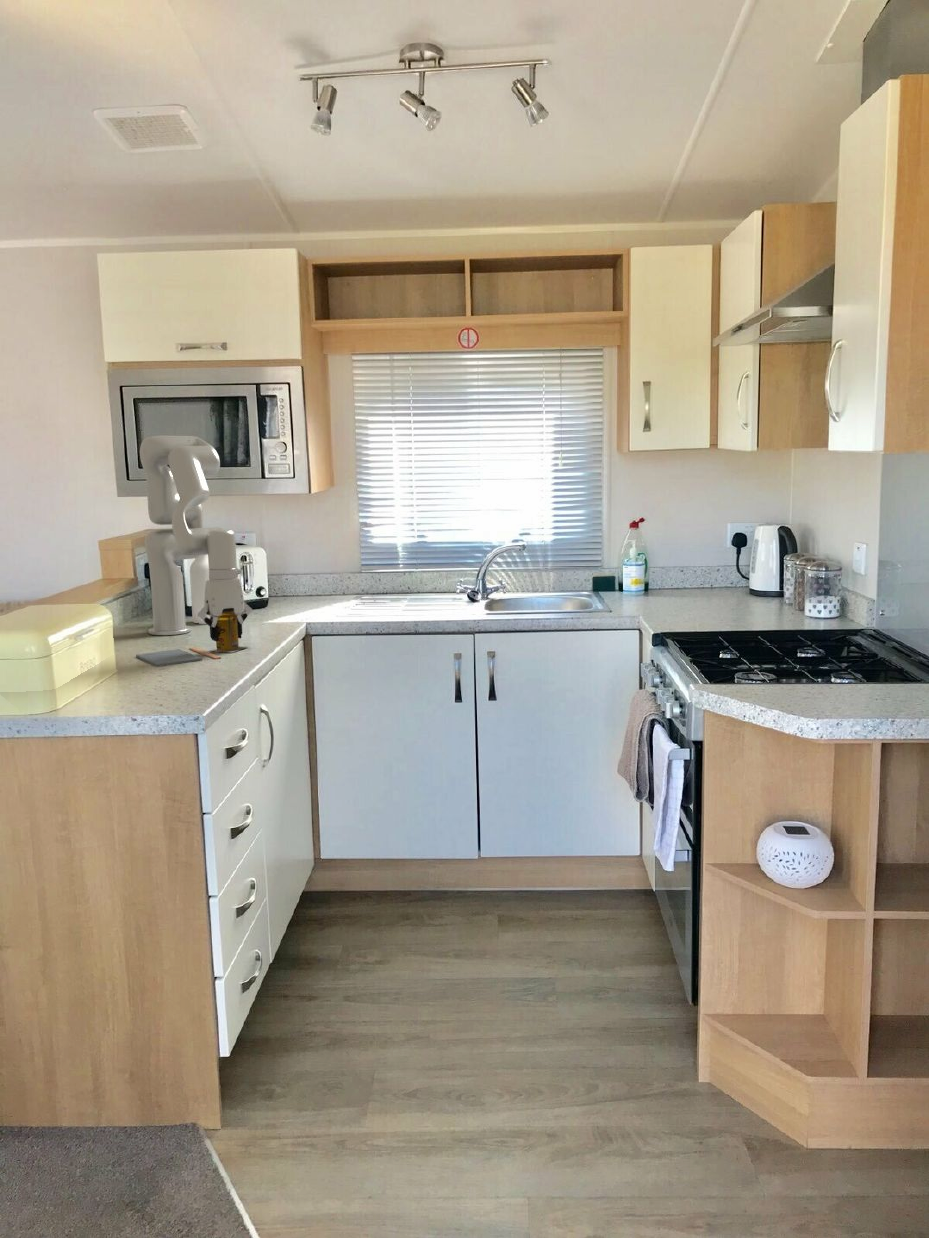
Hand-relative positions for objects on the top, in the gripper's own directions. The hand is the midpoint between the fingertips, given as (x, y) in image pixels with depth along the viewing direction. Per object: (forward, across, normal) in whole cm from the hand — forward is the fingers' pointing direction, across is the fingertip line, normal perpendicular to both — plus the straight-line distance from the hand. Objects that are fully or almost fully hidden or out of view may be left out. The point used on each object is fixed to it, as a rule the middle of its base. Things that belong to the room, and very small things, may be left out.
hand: (226, 638), depth 266 cm
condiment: (+3, -1, 0) cm, 3 cm away
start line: (+3, +7, +1) cm, 8 cm away
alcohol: (+3, -14, -48) cm, 50 cm away
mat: (+3, +17, +1) cm, 17 cm away
